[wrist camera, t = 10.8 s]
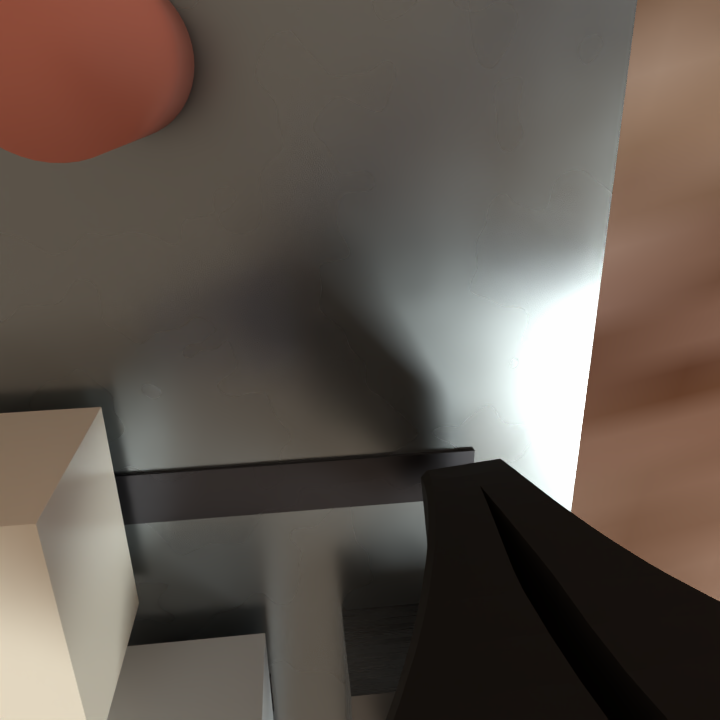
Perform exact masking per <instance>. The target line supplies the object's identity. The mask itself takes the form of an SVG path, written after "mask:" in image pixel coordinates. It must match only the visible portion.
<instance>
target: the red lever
mask: <svg viewBox="0 0 720 720" xmlns="http://www.w3.org/2000/svg"><path fill="white" fill-rule="evenodd" d="M194 67H195V66H194V53H193V47H192V43H191V39H190V36H189V33H188V31H187V28H186V26H185V24H184V22H183V20H182V18H181V16H180V15H179V13H178V11H177V10H176V9H175V7H174V6H173V5H172V3H171V2H170V1H169V0H0V147H1V148H2V149H4V150H6V151H8V152H11V153H13V154H16V155H18V156H21V157H24V158H28V159H32V160H35V161H42V162H48V163H70V162H79V161H83V160H86V159H90V158H93V157H96V156H98V155H101V154H103V153H106V152H108V151H111V150H113V149H116V148H118V147H121V146H123V145H126V144H128V143H131V142H133V141H136V140H139V139H141V138H144V137H146V136H148V135H151V134H153V133H156V132H158V131H159V130H161V129H163V128H164V127H166V126H167V125H168V124H169V123H171V122H172V121H173V120H174V119H175V117H176V116H177V115H178V114H179V113H180V111H181V110H182V108H183V107H184V105H185V103H186V101H187V99H188V97H189V94H190V91H191V88H192V84H193V79H194Z"/></svg>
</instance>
